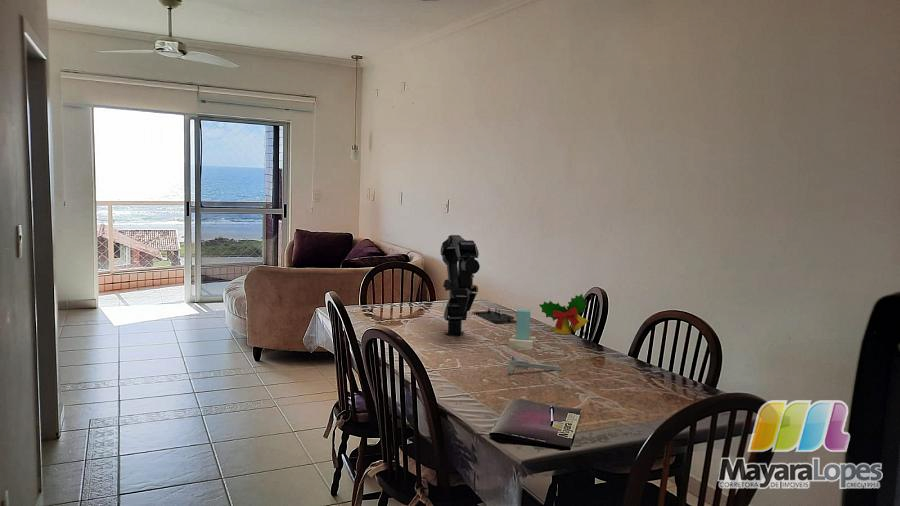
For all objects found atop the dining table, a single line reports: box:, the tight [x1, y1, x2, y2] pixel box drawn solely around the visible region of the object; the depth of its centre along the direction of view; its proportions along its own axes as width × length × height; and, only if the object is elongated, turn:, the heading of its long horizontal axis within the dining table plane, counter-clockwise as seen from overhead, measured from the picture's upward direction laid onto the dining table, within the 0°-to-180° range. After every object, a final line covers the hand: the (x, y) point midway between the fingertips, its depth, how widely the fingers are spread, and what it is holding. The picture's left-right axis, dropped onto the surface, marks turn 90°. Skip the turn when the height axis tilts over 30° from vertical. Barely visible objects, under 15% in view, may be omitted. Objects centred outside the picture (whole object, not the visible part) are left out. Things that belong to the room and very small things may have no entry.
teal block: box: [515, 308, 531, 340], centre depth 247 cm, size 5×5×11 cm
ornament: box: [538, 293, 589, 335], centre depth 271 cm, size 22×9×16 cm, turn 62°
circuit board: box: [471, 307, 517, 325], centre depth 297 cm, size 25×14×3 cm, turn 25°
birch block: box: [508, 334, 537, 351], centre depth 247 cm, size 9×9×4 cm
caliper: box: [507, 355, 564, 375], centre depth 214 cm, size 21×1×6 cm, turn 111°
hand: (465, 312), depth 246 cm, fingers open, 9 cm apart
